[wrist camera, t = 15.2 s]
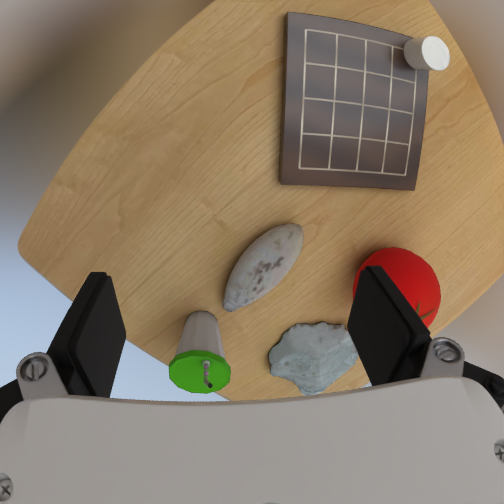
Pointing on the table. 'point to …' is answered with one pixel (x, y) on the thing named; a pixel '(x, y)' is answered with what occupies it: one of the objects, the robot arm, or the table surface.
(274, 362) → the stone
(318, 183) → the board
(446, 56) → the white canister
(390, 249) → the tomato
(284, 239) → the decorative stone
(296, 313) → the table surface
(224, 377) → the cup
